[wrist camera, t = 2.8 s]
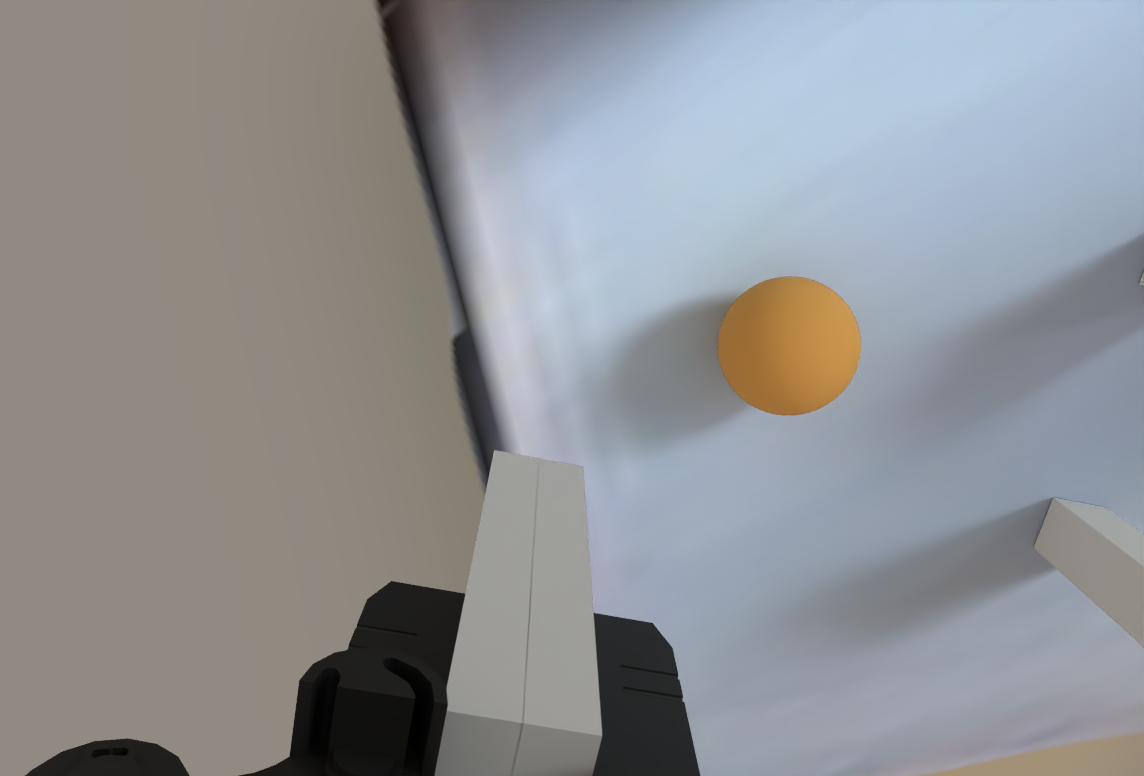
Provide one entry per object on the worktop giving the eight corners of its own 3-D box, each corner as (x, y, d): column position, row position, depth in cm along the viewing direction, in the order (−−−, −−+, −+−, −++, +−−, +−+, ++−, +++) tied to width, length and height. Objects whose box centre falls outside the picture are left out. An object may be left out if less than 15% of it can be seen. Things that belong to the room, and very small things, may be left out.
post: (1106, 507, 39) (1259, 615, 31) (1085, 557, 40) (1228, 676, 31) (1053, 497, 39) (1191, 602, 30) (1033, 547, 40) (1162, 664, 31)
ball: (852, 280, 36) (901, 307, 31) (815, 402, 38) (856, 447, 32) (725, 254, 36) (753, 277, 30) (693, 378, 37) (715, 420, 32)
